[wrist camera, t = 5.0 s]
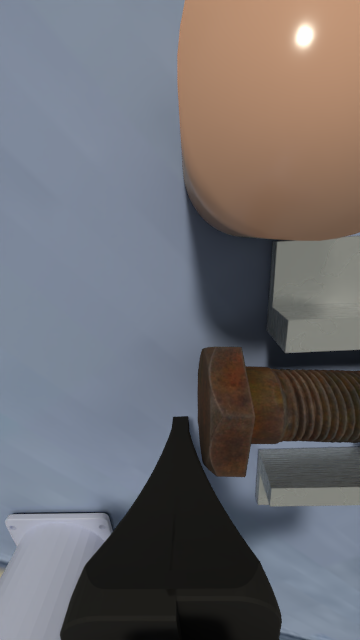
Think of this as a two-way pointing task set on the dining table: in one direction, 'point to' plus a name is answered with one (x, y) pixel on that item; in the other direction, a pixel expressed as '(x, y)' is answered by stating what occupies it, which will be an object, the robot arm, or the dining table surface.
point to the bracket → (312, 336)
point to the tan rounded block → (272, 116)
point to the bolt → (269, 408)
